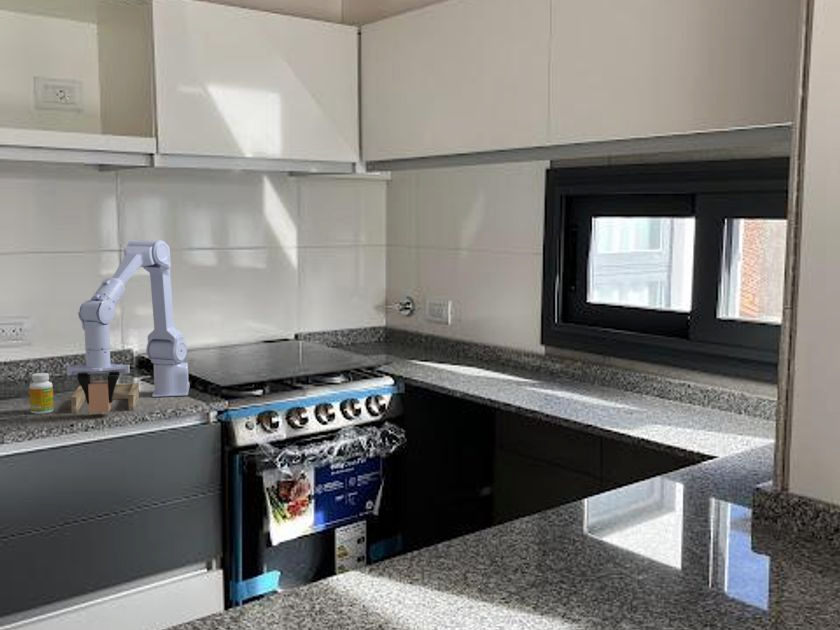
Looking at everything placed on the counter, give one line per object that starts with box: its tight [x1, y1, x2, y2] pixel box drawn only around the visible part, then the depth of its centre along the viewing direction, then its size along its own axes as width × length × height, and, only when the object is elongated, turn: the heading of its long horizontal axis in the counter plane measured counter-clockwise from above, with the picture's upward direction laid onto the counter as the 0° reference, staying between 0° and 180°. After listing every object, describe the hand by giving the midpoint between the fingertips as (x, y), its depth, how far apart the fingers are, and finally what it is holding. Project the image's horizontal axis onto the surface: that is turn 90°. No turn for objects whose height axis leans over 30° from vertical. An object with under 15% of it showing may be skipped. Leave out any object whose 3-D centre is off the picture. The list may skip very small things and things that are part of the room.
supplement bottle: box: [28, 372, 54, 415], centre depth 221 cm, size 5×5×10 cm
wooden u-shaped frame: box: [70, 382, 140, 414], centre depth 230 cm, size 15×16×4 cm
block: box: [88, 380, 112, 413], centre depth 217 cm, size 4×4×7 cm
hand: (99, 402), depth 217 cm, fingers closed on block, 4 cm apart
